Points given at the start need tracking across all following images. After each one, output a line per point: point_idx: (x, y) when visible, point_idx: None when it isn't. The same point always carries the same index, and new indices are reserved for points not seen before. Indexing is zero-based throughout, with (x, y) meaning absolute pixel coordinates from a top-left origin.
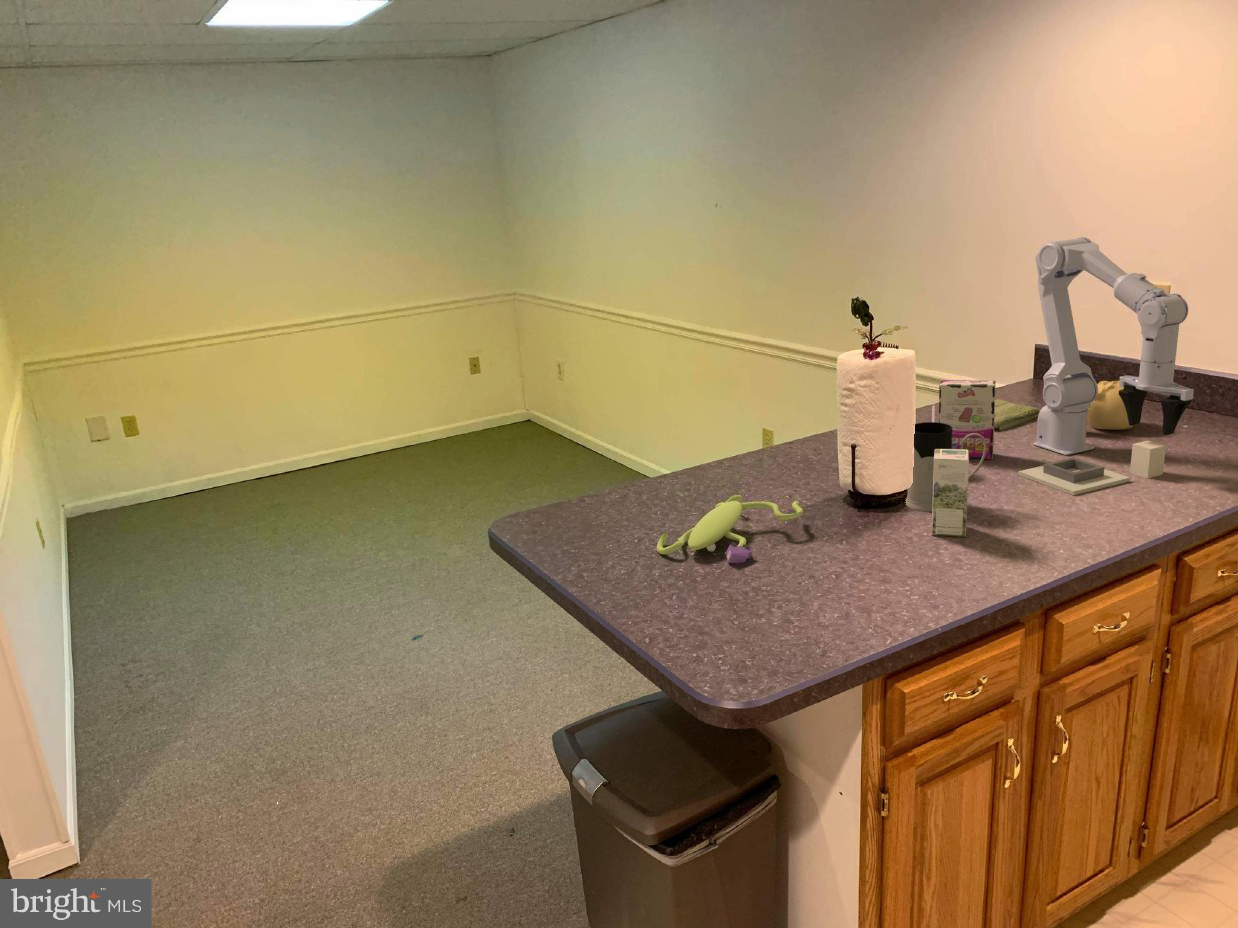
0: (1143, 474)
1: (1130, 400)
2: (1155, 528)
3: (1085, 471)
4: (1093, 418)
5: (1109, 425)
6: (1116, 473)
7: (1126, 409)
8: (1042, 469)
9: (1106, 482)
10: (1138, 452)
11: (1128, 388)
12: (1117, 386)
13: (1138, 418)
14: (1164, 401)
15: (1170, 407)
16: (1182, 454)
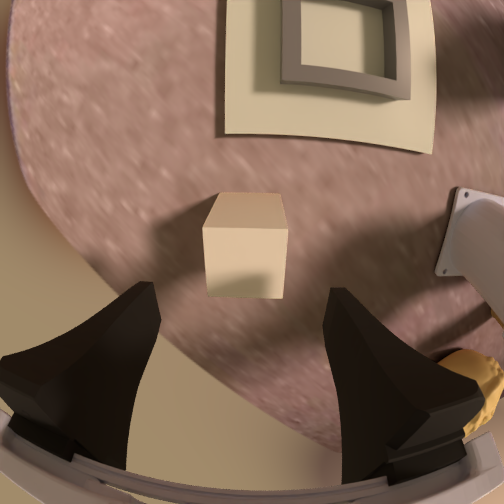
0: (232, 194)
1: (381, 385)
2: (27, 12)
3: (285, 7)
4: (473, 356)
5: (446, 362)
6: (275, 131)
7: (384, 331)
8: (414, 23)
9: (231, 47)
10: (257, 218)
11: (434, 453)
12: (466, 427)
13: (329, 339)
14: (12, 381)
15: (14, 353)
16: (292, 364)
